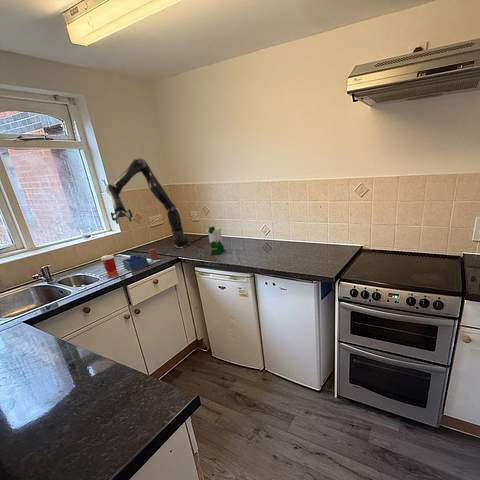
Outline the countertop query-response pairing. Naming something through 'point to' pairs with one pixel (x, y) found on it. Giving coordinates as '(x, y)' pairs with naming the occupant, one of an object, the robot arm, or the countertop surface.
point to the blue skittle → (133, 257)
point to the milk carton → (215, 240)
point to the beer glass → (109, 265)
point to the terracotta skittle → (153, 254)
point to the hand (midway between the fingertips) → (124, 222)
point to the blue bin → (135, 263)
